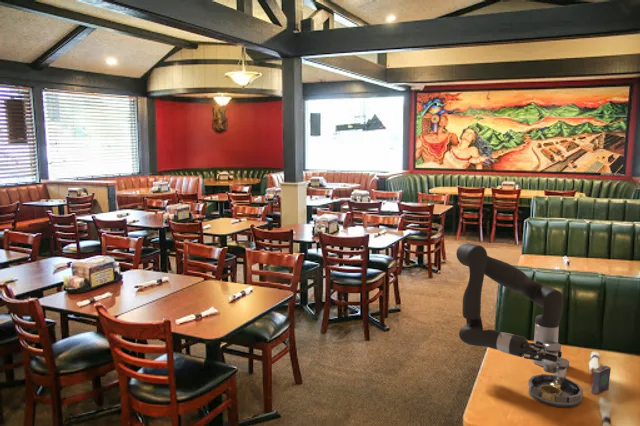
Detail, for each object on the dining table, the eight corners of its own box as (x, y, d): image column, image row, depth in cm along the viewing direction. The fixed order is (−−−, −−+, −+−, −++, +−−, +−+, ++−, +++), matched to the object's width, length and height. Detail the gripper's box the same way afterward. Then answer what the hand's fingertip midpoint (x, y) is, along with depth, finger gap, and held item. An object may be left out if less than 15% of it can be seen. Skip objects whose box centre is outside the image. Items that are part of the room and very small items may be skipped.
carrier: (537, 379, 203) (539, 351, 201) (587, 394, 191) (589, 363, 189) (521, 396, 189) (523, 366, 187) (573, 413, 177) (575, 381, 176)
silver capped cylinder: (544, 365, 189) (545, 339, 187) (561, 370, 185) (563, 344, 183) (538, 370, 184) (540, 344, 183) (556, 375, 180) (558, 349, 179)
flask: (596, 395, 190) (598, 368, 188) (588, 392, 192) (590, 365, 191) (610, 389, 195) (612, 362, 193) (602, 386, 197) (604, 360, 196)
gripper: (504, 340, 187) (553, 353, 176) (519, 329, 198) (566, 341, 187) (503, 359, 188) (552, 373, 177) (518, 347, 199) (564, 360, 188)
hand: (559, 356), depth 182 cm, fingers closed on silver capped cylinder, 4 cm apart
